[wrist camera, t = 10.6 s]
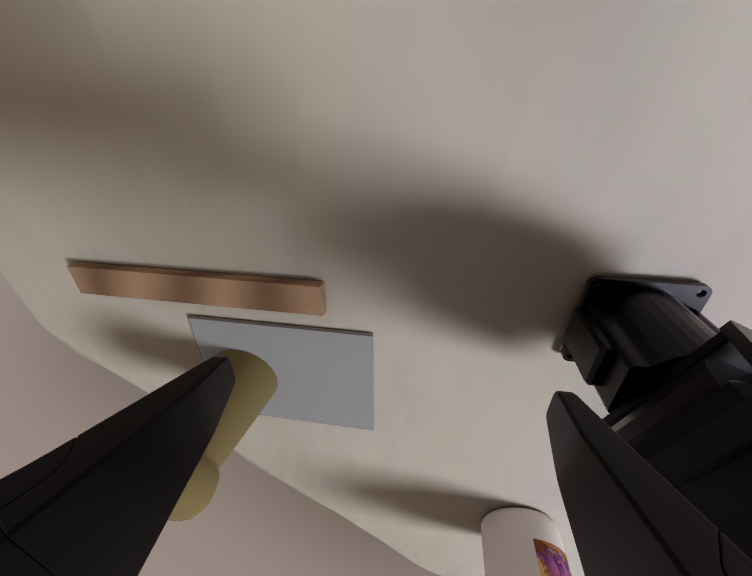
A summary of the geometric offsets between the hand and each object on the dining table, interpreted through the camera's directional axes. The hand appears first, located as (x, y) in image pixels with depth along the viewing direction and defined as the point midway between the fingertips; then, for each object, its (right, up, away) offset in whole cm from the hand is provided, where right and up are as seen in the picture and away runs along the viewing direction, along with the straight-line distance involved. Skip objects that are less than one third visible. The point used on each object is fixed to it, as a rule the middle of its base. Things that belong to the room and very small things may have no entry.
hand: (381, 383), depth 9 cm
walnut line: (-14, +3, +16) cm, 21 cm away
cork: (-12, -5, +20) cm, 24 cm away
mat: (-8, -5, +20) cm, 22 cm away
